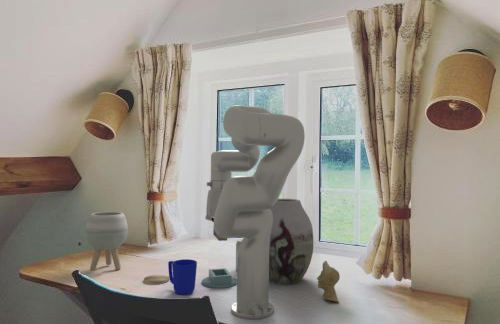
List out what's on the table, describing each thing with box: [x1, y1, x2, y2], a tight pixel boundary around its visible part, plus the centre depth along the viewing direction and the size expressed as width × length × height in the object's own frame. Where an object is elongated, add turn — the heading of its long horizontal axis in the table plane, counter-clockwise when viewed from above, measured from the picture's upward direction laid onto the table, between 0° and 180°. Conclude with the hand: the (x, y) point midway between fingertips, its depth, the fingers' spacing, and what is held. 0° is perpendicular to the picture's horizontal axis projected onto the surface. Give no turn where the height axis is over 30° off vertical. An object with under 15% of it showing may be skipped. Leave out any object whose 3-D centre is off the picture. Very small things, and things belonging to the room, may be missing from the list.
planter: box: [85, 211, 129, 272], centre depth 153 cm, size 16×16×22 cm
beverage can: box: [235, 238, 243, 269], centre depth 154 cm, size 6×6×12 cm
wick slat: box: [212, 228, 228, 242], centre depth 137 cm, size 5×3×10 cm
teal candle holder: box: [201, 267, 237, 289], centre depth 137 cm, size 13×13×4 cm
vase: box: [269, 198, 314, 285], centre depth 141 cm, size 21×21×30 cm
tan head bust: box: [316, 260, 341, 303], centre depth 120 cm, size 8×7×12 cm
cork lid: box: [143, 274, 170, 285], centre depth 138 cm, size 9×9×1 cm
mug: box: [167, 258, 198, 295], centre depth 127 cm, size 8×12×10 cm
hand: (220, 235), depth 137 cm, fingers closed on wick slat
